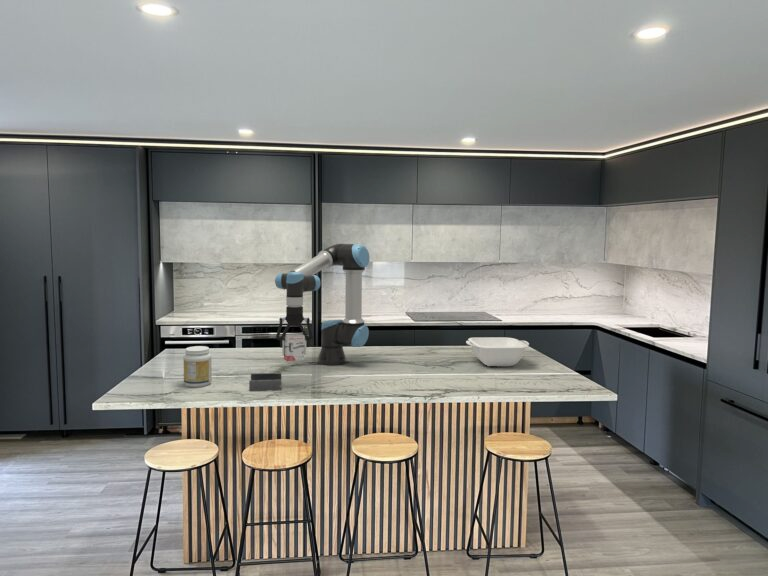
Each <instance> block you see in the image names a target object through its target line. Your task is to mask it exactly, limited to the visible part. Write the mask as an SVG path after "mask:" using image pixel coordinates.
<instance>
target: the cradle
mask: <svg viewBox="0 0 768 576" xmlns="http://www.w3.org/2000/svg"><path fill="white" fill-rule="evenodd" d="M248 382H249V383H248V384H249V387H248V389H249V390H248V391H249V392H261V391H264V392H268V391H267V390H272V391H282V372H266V373H265V372H260V373H254V372H253V373H250V380H249V381H248Z"/></svg>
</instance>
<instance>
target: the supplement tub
mask: <svg viewBox="0 0 768 576" xmlns="http://www.w3.org/2000/svg"><path fill="white" fill-rule="evenodd" d="M184 353H185V354H184V356H183V384H184V385H185V386H186V387H188V388H202V387H207V386H209V385H211V383H212V380H213V379H212V378H213V377H212V376H213V375H212V354H211V353H210V348H209V346H204V345H203V346H202V345H195V346H188V347H186V348H185V352H184Z"/></svg>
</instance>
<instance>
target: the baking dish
mask: <svg viewBox="0 0 768 576" xmlns="http://www.w3.org/2000/svg"><path fill="white" fill-rule="evenodd" d="M465 343H466V345H468V346H471V349H472V351H473V354H474V356H475V357H476V358H477V359H478V360H479V361H480V362H481V363H482V364H483V365H485V366H486V365H487V367H490V366H497V367H513V366H515V365H516V364H517V363H519V362H520V360H521V359H522V358H523V356H524V353H525V350H526V349H527V348H529V346H530V342H528V341H526V340H519V339H517V338H513V337H505V336H504V337H501V336H500V337H499V336H498V337H497V336H496V337H491V336H490V337H486V336H485V337H484V336H483V337H469V338H468V339H467V340H466V341H465Z"/></svg>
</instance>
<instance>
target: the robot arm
mask: <svg viewBox="0 0 768 576" xmlns="http://www.w3.org/2000/svg"><path fill="white" fill-rule="evenodd" d="M369 262H370V253H369V250H368V249H367V247H366V246H365V245H363V244H359V243H336V244H333V245H330V246H327V247H326V248H324V249H322V250H320V251H319V252H318V253H317V255H316V256H314V257H312V258H311V259H308V260H307V261H306V262H304V263H302V264H300V265H298V266H297V267H295V268H293V269H292V270H290V271H288V272H286V273H285V272H284V273H283V272H282V273H278V274H277V275H276V276H275V280H274V283H275V286H276V287H277V289H280V290H284V291H286V299H285V300H286V304H285V305H286V308H285V309H286V310H285V311H286V313H285V314H286V315H285V317H280V318H278V319H279V324H278V328H277V332H276V336H275V339H276V340H277V341H279V347H280V348H282V356H284V336H285V335H286V334H288V333H287V332H289V329H290V328H291V327H299V328H300V331H301V332H302V334H304V335H305V353H304V356H306V355H307V348H309V346H310V340H313V338H314V336H313V332H312V329H311V324H310V320H311V319H310V317H304V307H303V305H304V293H306V292H314V291H317V290H319V289H320V287H321V285H322V284H321V279H320V277H319V276H318V275H316V274H317V273H319V272H321V271H323V270H324V269H329V268H331V267H335V266H342V271H343V272H344V273H345V298H344V299H345V300H344V301H345V309H344V312H345V313H344V314H345V315H344V319H331V320H324V321H323V322H322V323H321V329H320V330H321V331H320V333H321V339H320V340H321V345H320V346H321V347H320V348H321V349H320V351H319V354H318V358H317V362H318V364H320V365H325V366H338V365H343V364H346V363H347V362H346V361H347V358H346V354H345V351H344V346H349V347H353V348H355V347H356V348H361V347H363V346H364V345H365V344H366V342H367V341H368V339H369V335H370V334H369V333H370V331H369V327H368V326H367V325H365V320H364V319H363V318H362V313H363V312H362V308H363V306H362V305H363V304H362V303H363V301H362V297H363V295H362V294H363V292H362V291H363V289H362V288H363V286H362V285H363V273H364V271H365V270H366V267H367V266H368V265H369ZM285 321H286V323H287V325H286V327H285V329H283V332H282V334H281V331H282V327H283V323H285ZM303 321H304V322H305V323H306V327H307V331H308V334H307V332H306V329H304V327H303V325H302V323H303ZM308 335H309V336H308Z"/></svg>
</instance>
